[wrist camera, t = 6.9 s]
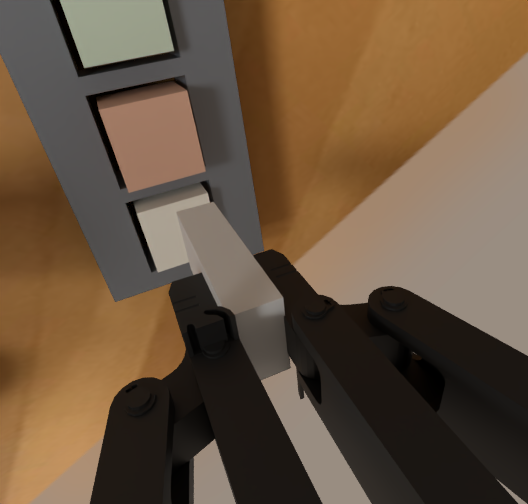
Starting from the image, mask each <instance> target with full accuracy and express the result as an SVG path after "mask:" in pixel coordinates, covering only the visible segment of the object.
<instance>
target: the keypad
mask: <svg viewBox="0 0 528 504" xmlns="http://www.w3.org/2000/svg"><path fill="white" fill-rule="evenodd" d="M162 2H163V6H164V10H165V14H166V19H167V23H168V27H169V31H170V36H171V40H172V44H173V48H174V51H170V52H169V53H165V54H160V55H155V56H150V57H145V58H140V59H134V60H129V61H124V62H119V63H114V64H108V65H103V66H98V67H93V68H88V69H83V70H78V68H77V65H76V62H75V59H74V57H73V54H72V51H71V49H70V46H69V43H68V40H67V38H66V35H65V32H64V30H63V27H62V24H61V21H60V19H59V16H58V13H57V11H56V8H55V5H54V3H53V0H0V54H1V56H2V59H3V61H4V63H5V65H6V67H7V69H8V72H9V74H10V76H11V78H12V80H13V82H14V85H15V87H16V89H17V91H18V93H19V95H20V98H21V100H22V102H23V104H24V106H25V108H26V110H27V113H28V115H29V117H30V119H31V121H32V123H33V126H34V128H35V130H36V132H37V134H38V136H39V139H40V141H41V143H42V145H43V147H44V149H45V151H46V154H47V156H48V158H49V160H50V162H51V164H52V167H53V169H54V171H55V173H56V175H57V177H58V180H59V182H60V184H61V186H62V188H63V190H64V193H65V195H66V197H67V199H68V201H69V203H70V205H71V208H72V210H73V212H74V214H75V216H76V218H77V221H78V223H79V225H80V227H81V229H82V231H83V234H84V236H85V238H86V240H87V242H88V244H89V247H90V249H91V251H92V253H93V255H94V257H95V259H96V262H97V264H98V266H99V268H100V270H101V272H102V275H103V277H104V279H105V281H106V283H107V285H108V288H109V290H110V292H111V294H112V296H113V298H114V300H115V302H117V301H120V300H123V299H126V298H129V297H131V296H134V295H137V294H140V293H143V292H146V291H149V290H152V289H155V288H158V287H160V286H163V285H166V284H169V283H172V282H173V281H176V280H179V279H182V278H186V277H189V276H192V275H193V273H192V270H191V267H190V263H189V262H188V263H185V264H182V265H179V266H176V267H173V268H170V269H167V270H164V271H161V272H158V271H157V268H156V266H155V263H154V260H153V257H152V255H151V252H150V249H149V247H147V248H144V246H143V243H142V241H141V238H140V235H139V233H138V230H137V227H136V225H135V222H134V219H133V216H132V214H131V211H130V208H129V206H128V202H131V201H135V200H138V199H142V198H145V197H149V196H152V195H156V194H159V193H163V192H166V191H170V190H173V189H177V188H180V187H184V186H188V185H191V184H195V183H198V182H200V183H201V185H202V186H203V187H204V189H205V190H206V191H207V193H208V196H209V201H210V203H211V202H214V203H215V204H216V206H217V207H218V209H219V210H220V211H221V213H222V214H223V215H224V217H225V218H226V220H227V221H228V222H229V224H230V225H231V226H232V228H233V229H234V231H235V232H236V233H237V235H238V236H239V237H240V239H241V240H242V241H243V243H244V244H245V246H246V247H247V248H248V250H249V251H250V252H251V254H252V255H253V254H256V253H259V252H262V251H264V247H263V241H262V235H261V229H260V223H259V216H258V210H257V204H256V198H255V192H254V185H253V179H252V173H251V167H250V161H249V155H248V148H247V142H246V136H245V130H244V124H243V118H242V111H241V105H240V99H239V93H238V87H237V80H236V74H235V68H234V62H233V56H232V50H231V43H230V37H229V31H228V25H227V19H226V12H225V6H224V0H162ZM173 77H175V80H176V84H178V85H180V86H181V87H183V88H184V89H186V90H187V92H188V96H189V101H190V105H191V109H192V114H193V118H194V122H195V126H196V131H197V135H198V139H199V144H200V148H201V152H202V157H203V161H204V165H205V170H206V172H202V173H199V174H195V175H191V176H188V177H184V178H181V179H177V180H173V181H170V182H166V183H163V184H159V185H155V186H152V187H148V188H145V189H141V190H137V191H134V192H130V193H129V192H128V189H127V187H126V184H125V181H124V178H123V176H122V173H121V170H119V171H116V170H115V168H114V165H113V162H112V160H111V157H110V154H109V151H108V149H107V146H106V143H105V141H104V138H103V135H102V132H101V130H100V127H99V124H98V122H97V119H96V116H95V114H94V111H93V108H92V105H91V103H90V100H89V97H88V95H92V94H97V93H102V92H107V91H111V90H116V89H121V88H126V87H130V86H135V85H140V84H145V83H149V82H154V81H159V80H164V79H168V78H173Z"/></svg>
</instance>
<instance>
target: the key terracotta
mask: <svg viewBox="0 0 528 504" xmlns="http://www.w3.org/2000/svg"><path fill="white" fill-rule="evenodd" d="M96 99H97V104H98V109H99V112H100V115H101V117H102V120H103V123H104V126H105V129H106V131H107V134H108V137H109V140H110V142H111V145H112V148H113V151H114V153H115V156H116V159H117V162H118V164H119V167H120V170H121V173H122V176H123V178H124V181H125V184H126V187H127V189H128V192H129V193H130V192H134V191H137V190H141V189H145V188H148V187H152V186H155V185H159V184H163V183H166V182H170V181H173V180H177V179H181V178H184V177H188V176H191V175H195V174H199V173H202V172H206V170H205V165H204V161H203V157H202V152H201V148H200V144H199V139H198V135H197V131H196V126H195V122H194V118H193V114H192V109H191V105H190V101H189V96H188V92H187V90H186V89H184V88H183V87H181V86H180V85H178V84H176V83H175V82H173V81H169V82H164V83H159V84H155V85H150V86H145V87H141V88H136V89H131V90H126V91H122V92H117V93H112V94H108V95H103V96H98V97H96Z"/></svg>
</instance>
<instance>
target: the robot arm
mask: <svg viewBox="0 0 528 504" xmlns="http://www.w3.org/2000/svg"><path fill="white" fill-rule="evenodd" d="M176 213H177V217H178V221H179V225H180V229H181V233H182V237H183V240H184V244H185V248H186V252H187V256H188V260H189V263H190V267H191V270H192V273H193V275H192V276H189V277H186V278H182V279H179V280H176V281H173V282H172V284H171V287H170V290H169V296H170V299H171V302H172V305H173V308H174V312H175V315H176V318H177V321H178V324H179V328H180V331H181V334H182V337H183V340H184V343H185V347H186V352H185V357H184V359H183V361H182V363H181V364H180V365H179V366H178V367H177V369H175V370H174V371H173V372H172V373H171V374H169V375H168V376H166V377H165V378H164V379H162V380H160V379H157V378H154V377H150V378H141V379H138V380H135V381H132V382H131V383H129V384H128V385H126V386H125V387H123V388H122V389H121V390H120V391H119V393H118V394H117V395H116V396H115V397H114V399H113V402H112V404H111V406H110V410H109V415H108V420H107V425H106V429H105V434H104V439H103V444H102V449H101V453H100V458H99V463H98V467H97V472H96V477H95V482H94V486H93V491H92V496H91V501H90V504H193V503H194V498H193V497H194V496H193V495H194V494H193V493H194V458H193V457H194V456H195V455H196V454H198V453H199V452H200V451H201V450H202V449H203V448H205V447H206V446H207V445H208V444H209V443H210V442H212V441H213V440H214V439H215V440H216V443H217V446H218V449H219V453H220V456H221V459H222V462H223V465H224V468H225V471H226V474H227V477H228V480H229V483H230V486H231V490H232V493H233V496H234V499H235V502H236V504H322V502H321V500H320V498H319V496H318V494H317V492H316V490H315V488H314V486H313V484H312V482H311V480H310V478H309V476H308V474H307V472H306V470H305V468H304V466H303V464H302V462H301V460H300V458H299V456H298V454H297V452H296V450H295V448H294V446H293V444H292V442H291V440H290V438H289V436H288V434H287V432H286V430H285V428H284V426H283V424H282V422H281V420H280V418H279V416H278V414H277V412H276V410H275V408H274V406H273V404H272V402H271V401H270V398H269V396H268V395H267V392H266V390H265V388H264V386H263V385H262V383H261V380H263V379H265V378H268V377H270V376H273V375H275V374H277V373H280V372H282V371H285V370H287V369H289V368H290V359H289V356H290V358H291V359H292V361H293V363H294V364H295V366H296V369H297V380H298V391H299V395H300V399H303V398H304V391H305V393H306V395H307V396H308V398H309V399H310V401H311V403H312V405H313V406H314V408H315V410H316V411H317V413H318V415H319V416H320V418H321V420H322V421H323V423H324V425H325V426H326V428H327V430H328V431H329V433H330V435H331V436H332V438H333V440H334V441H335V443H336V445H337V446H338V448H339V450H340V451H341V453H342V455H343V456H344V458H345V460H346V461H347V463H348V465H349V466H350V468H351V469H352V471H353V473H354V475H355V477H356V478H357V480H358V482H359V483H360V485H361V487H362V488H363V490H364V491H365V493H366V495H367V497H368V498H369V500H370V502H371V503H372V504H518V503H517V502H516V501H515V500H514V498H513V497H512V496H511V495H510V494H509V493H508V492H507V491H506V490H505V488H503V486H502V485H501V484H500V483H499V482H498V481H497V480H499V481H500V482H501V483H503V484H504V485H505V486H506V487H508V488H509V489H510V490H511V491H512V492H513V493H515V494H516V495H517V496H518V497H520V498H521V499H522V500H523V501H525V502H526V503H527V504H528V356H527V355H525V354H523V353H521V352H519V351H518V350H516V349H514V348H512V347H511V346H509V345H507V344H505V343H503V342H501V341H499V340H498V339H496V338H494V337H492V336H490V335H489V334H487V333H485V332H483V331H481V330H479V329H478V328H476V327H474V326H472V325H470V324H468V323H467V322H465V321H463V320H461V319H459V318H458V317H456V316H454V315H452V314H450V313H449V312H447V311H445V310H443V309H441V308H440V307H438V306H436V305H434V304H432V303H430V302H429V301H427V300H425V299H423V298H421V297H420V296H418V295H416V294H414V293H412V292H410V291H408V290H406V289H403V288H401V287H394V286H387V287H381V288H378V289H376V290H374V291H373V292H372V293H371V294H370V295H369V299H368V303H362V304H352V305H339V304H338V303H337V302H336V301H334V300H333V299H332V298H330V297H327V296H324V295H318V294H317V293H316V292H315V291H314V289H313V288H312V287H311V286H310V285H309V284H308V283H307V281H306V280H305V279H304V278H303V277H302V276H301V274H300V273H299V272H298V271H296V269H295V267H294V266H293V265H291V263H290V262H289V260H288V259H287V258H286V257H285V256H284V255H283V254H281V253H279V252H277V251H275V250H272V249H271V250H268V251H265V252H261V253H258V254H255V255H252V254H251V252H250V251H249V250H248V248H247V247H246V246H245V244H244V243H243V241H242V240H241V239H240V237H239V236H238V235H237V233H236V232H235V231H234V229H233V228H232V226H231V225H230V224H229V222H228V221H227V220H226V218H225V217H224V215H223V214H222V213H221V211H220V210H219V209H218V207H217V206H216V204H215V203H214V202H211V203H207V204H203V205H200V206H196V207H192V208H189V209H185V210H181V211H177V212H176ZM413 352H414V353H413ZM496 479H497V480H496Z"/></svg>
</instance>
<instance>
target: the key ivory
mask: <svg viewBox="0 0 528 504" xmlns="http://www.w3.org/2000/svg"><path fill="white" fill-rule="evenodd" d="M133 203H134V206H135V209H136V213H137V216H138V219H139V221H140V224H141V227H142V230H143V232H144V235H145V238H146V241H147V243H148V246H149V249H150V252H151V255H152V257H153V260H154V263H155V266H156V268H157V271H158V272H161V271H164V270H167V269H170V268H173V267H176V266H179V265H182V264H185V263H188V262H189V260H188V256H187V252H186V248H185V244H184V240H183V237H182V233H181V229H180V225H179V221H178V217H177V213H176V212H177V211H181V210H185V209H189V208H192V207H196V206H200V205H203V204H207V203H210V201H209V196H208V193H207V191H206V190H205V189H204V187H203V186H202V185H201V183H200V182H198V183H195V184H191V185H188V186H184V187H180V188H177V189H173V190H170V191H166V192H163V193H159V194H156V195H152V196H149V197H145V198H142V199H138V200H135V201H133Z"/></svg>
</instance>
